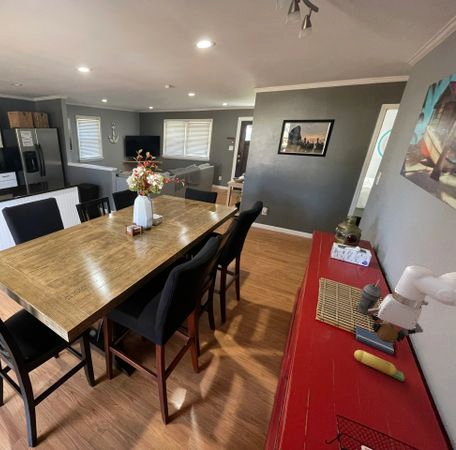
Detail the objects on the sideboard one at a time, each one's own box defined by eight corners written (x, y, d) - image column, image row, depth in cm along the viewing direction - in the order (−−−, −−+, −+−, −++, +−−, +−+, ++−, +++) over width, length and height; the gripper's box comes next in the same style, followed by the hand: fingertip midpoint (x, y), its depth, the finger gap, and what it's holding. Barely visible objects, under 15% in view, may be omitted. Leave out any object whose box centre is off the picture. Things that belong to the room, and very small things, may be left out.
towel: (390, 342, 104) (392, 339, 103) (392, 354, 98) (394, 352, 97) (356, 328, 110) (357, 325, 110) (356, 339, 105) (357, 336, 104)
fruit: (371, 331, 98) (378, 316, 95) (391, 338, 95) (399, 323, 92) (374, 342, 93) (382, 326, 90) (395, 349, 90) (404, 334, 87)
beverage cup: (371, 309, 122) (387, 277, 115) (373, 318, 117) (391, 284, 109) (353, 303, 126) (368, 272, 118) (355, 312, 120) (370, 279, 112)
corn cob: (401, 375, 90) (406, 367, 88) (402, 384, 87) (408, 376, 85) (352, 353, 98) (356, 345, 96) (352, 360, 95) (356, 352, 93)
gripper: (438, 303, 84) (414, 340, 91) (374, 283, 94) (357, 318, 101) (444, 315, 79) (418, 354, 86) (376, 293, 88) (358, 329, 95)
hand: (386, 334), depth 93 cm, fingers closed on fruit, 6 cm apart
